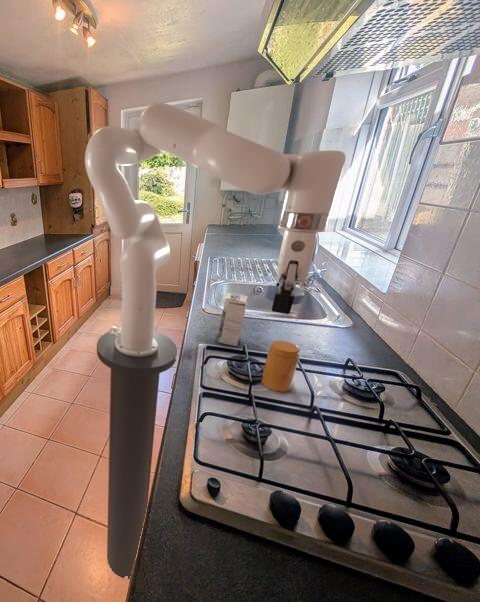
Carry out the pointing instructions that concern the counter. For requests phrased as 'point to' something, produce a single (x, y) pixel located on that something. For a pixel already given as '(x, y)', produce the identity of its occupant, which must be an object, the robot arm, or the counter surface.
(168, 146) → the robot arm
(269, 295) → the honey lid
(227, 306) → the syrup box
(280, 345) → the honey jar
